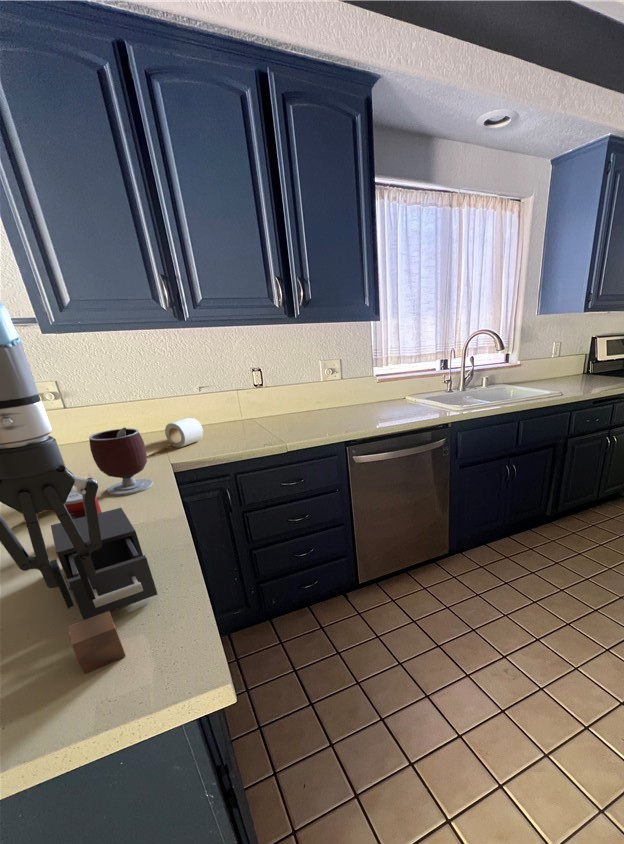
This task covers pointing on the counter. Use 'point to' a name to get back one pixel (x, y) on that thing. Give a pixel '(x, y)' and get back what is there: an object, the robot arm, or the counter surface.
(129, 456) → the mate gourd
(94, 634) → the block
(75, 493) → the canned food
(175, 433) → the toilet paper
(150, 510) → the counter surface
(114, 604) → the drawer
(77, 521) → the cabinet
